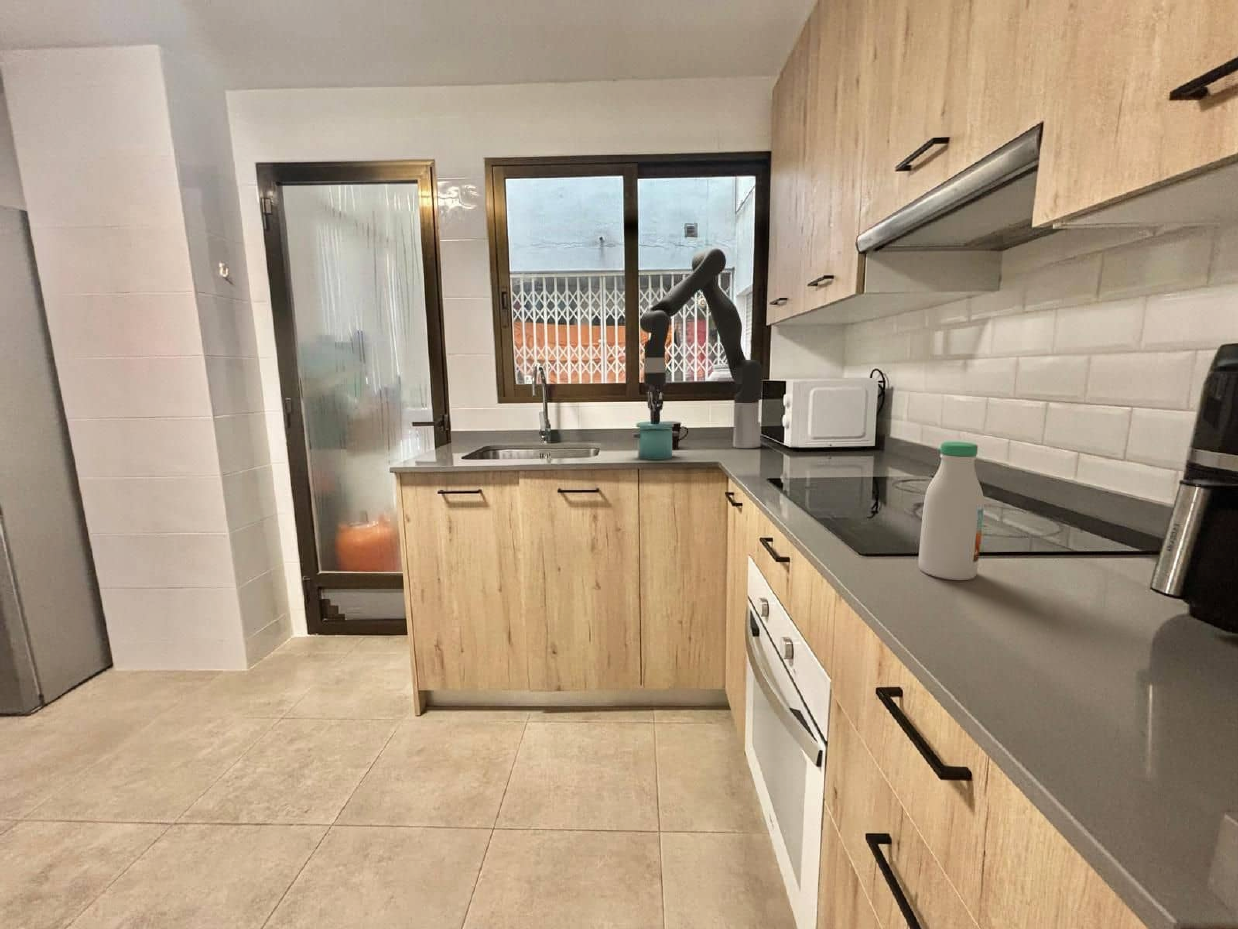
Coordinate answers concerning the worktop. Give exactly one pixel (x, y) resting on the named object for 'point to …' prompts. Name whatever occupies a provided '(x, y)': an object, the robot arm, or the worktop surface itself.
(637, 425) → the lid
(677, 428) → the coffee mug
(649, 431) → the pot
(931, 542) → the milk bottle
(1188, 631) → the worktop surface
